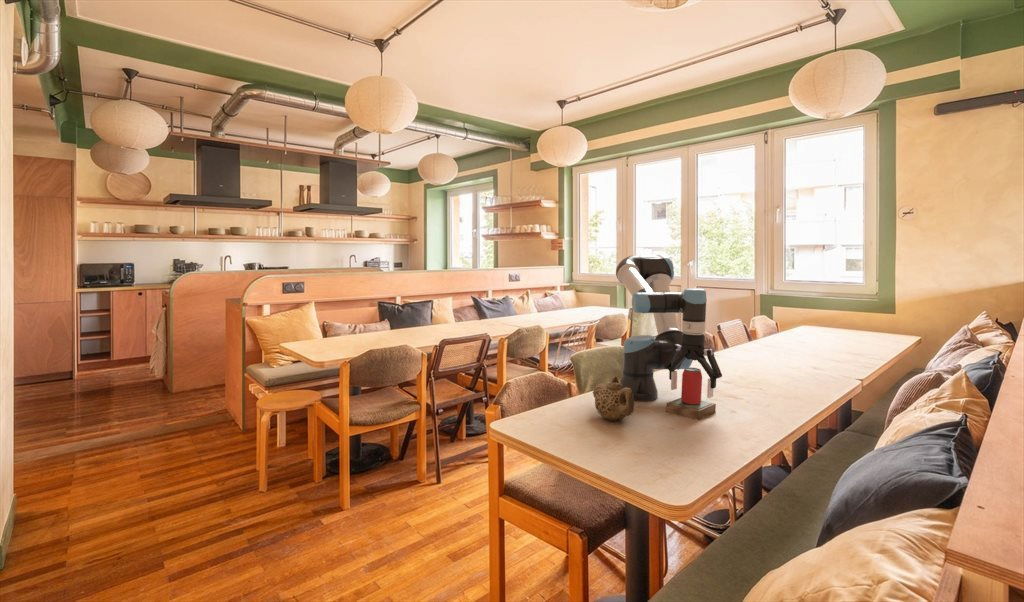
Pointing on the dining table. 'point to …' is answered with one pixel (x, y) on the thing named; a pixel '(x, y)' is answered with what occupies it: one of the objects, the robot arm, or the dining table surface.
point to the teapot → (613, 400)
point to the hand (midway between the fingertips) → (691, 393)
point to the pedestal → (691, 409)
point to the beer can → (691, 386)
